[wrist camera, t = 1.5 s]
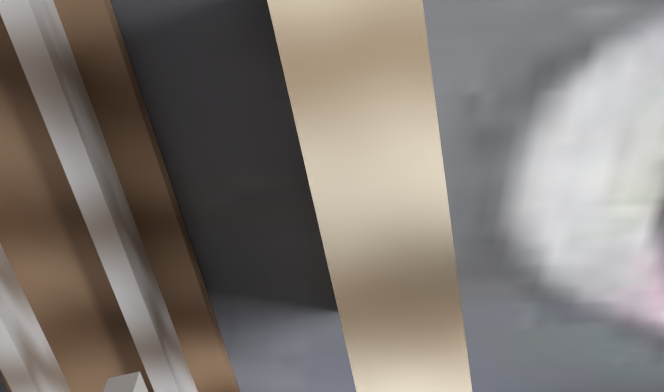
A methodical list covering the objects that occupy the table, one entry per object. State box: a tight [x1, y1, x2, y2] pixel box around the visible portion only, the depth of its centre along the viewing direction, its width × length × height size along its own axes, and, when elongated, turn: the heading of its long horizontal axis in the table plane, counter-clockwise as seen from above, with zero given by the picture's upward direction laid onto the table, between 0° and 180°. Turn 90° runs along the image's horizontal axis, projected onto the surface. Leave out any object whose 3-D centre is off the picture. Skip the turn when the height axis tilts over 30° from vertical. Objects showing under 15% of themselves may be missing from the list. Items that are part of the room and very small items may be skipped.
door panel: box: [267, 0, 472, 392], centre depth 23 cm, size 18×4×14 cm, turn 11°
